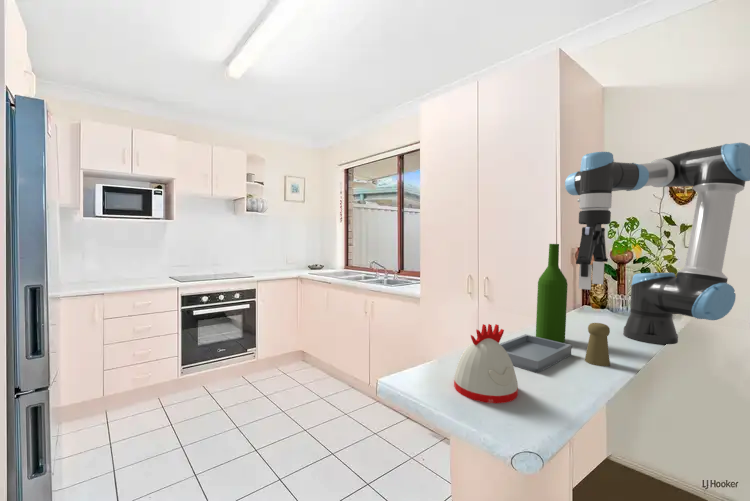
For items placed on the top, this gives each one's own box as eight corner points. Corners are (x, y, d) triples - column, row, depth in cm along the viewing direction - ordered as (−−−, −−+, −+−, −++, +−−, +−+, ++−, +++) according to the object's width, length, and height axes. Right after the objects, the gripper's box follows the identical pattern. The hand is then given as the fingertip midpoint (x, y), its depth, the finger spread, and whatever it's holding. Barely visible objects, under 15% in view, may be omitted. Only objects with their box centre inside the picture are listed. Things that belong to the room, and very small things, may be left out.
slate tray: (525, 343, 116) (525, 334, 116) (571, 354, 106) (571, 344, 106) (488, 358, 102) (488, 347, 102) (537, 373, 91) (537, 361, 91)
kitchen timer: (531, 399, 77) (534, 330, 76) (475, 407, 73) (477, 335, 72) (492, 374, 90) (494, 315, 89) (443, 379, 86) (445, 318, 86)
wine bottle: (559, 336, 124) (563, 243, 123) (569, 344, 116) (573, 244, 114) (532, 335, 126) (536, 243, 124) (539, 342, 117) (543, 244, 116)
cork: (614, 367, 96) (616, 327, 96) (589, 365, 98) (591, 325, 97) (604, 359, 102) (606, 321, 102) (581, 357, 104) (583, 320, 103)
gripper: (591, 212, 110) (588, 280, 111) (565, 208, 92) (562, 289, 93) (620, 211, 105) (617, 283, 106) (599, 206, 87) (595, 293, 88)
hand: (591, 286), depth 100 cm, fingers open, 13 cm apart
